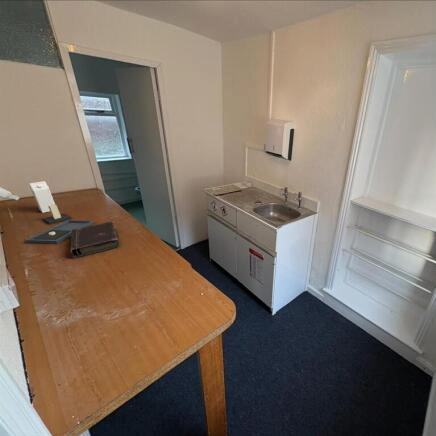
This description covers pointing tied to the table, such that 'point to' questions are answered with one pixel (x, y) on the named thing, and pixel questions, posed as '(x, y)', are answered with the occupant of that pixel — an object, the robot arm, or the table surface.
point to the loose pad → (64, 217)
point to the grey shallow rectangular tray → (62, 226)
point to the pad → (53, 234)
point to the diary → (93, 239)
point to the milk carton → (42, 195)
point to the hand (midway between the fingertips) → (15, 196)
